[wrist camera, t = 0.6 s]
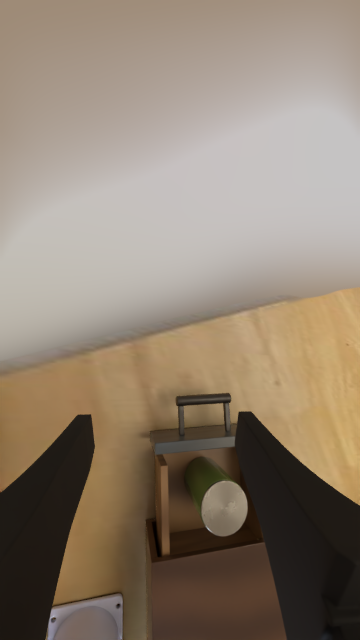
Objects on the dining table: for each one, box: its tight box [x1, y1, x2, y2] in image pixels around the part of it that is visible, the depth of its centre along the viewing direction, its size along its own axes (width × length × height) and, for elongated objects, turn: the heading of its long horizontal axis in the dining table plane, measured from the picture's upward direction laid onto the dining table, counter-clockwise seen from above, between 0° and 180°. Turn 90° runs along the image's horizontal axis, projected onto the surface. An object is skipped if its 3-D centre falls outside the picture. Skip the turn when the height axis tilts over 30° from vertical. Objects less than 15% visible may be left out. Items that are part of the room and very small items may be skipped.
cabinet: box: [146, 518, 287, 640], centre depth 29 cm, size 13×14×8 cm
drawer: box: [150, 393, 263, 557], centre depth 32 cm, size 17×13×6 cm
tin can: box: [184, 457, 248, 536], centre depth 30 cm, size 5×5×8 cm
